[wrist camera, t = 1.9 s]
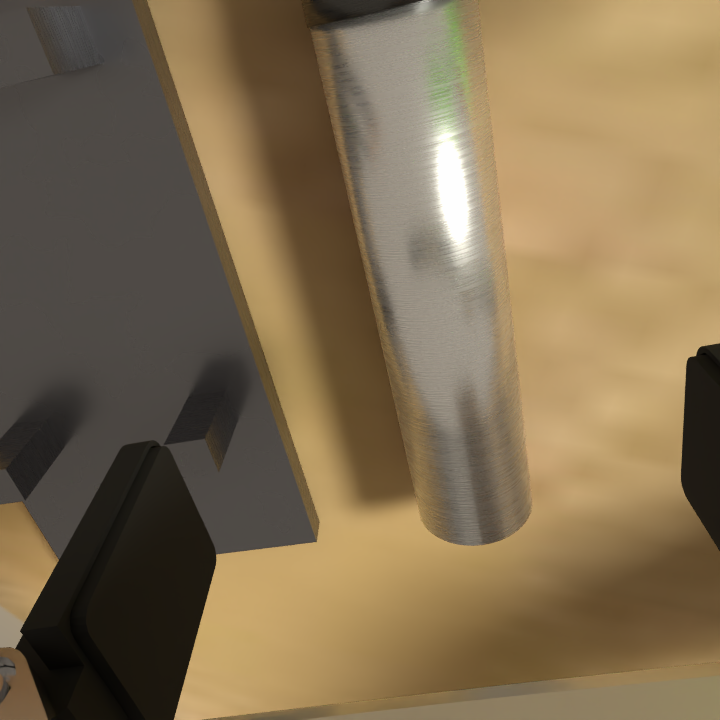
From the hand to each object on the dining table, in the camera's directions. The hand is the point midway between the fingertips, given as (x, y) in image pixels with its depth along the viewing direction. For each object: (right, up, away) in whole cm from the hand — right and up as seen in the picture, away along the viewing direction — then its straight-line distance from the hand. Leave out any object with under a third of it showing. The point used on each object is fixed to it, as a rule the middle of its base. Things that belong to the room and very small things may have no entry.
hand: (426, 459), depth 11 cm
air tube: (+1, +6, +10) cm, 12 cm away
